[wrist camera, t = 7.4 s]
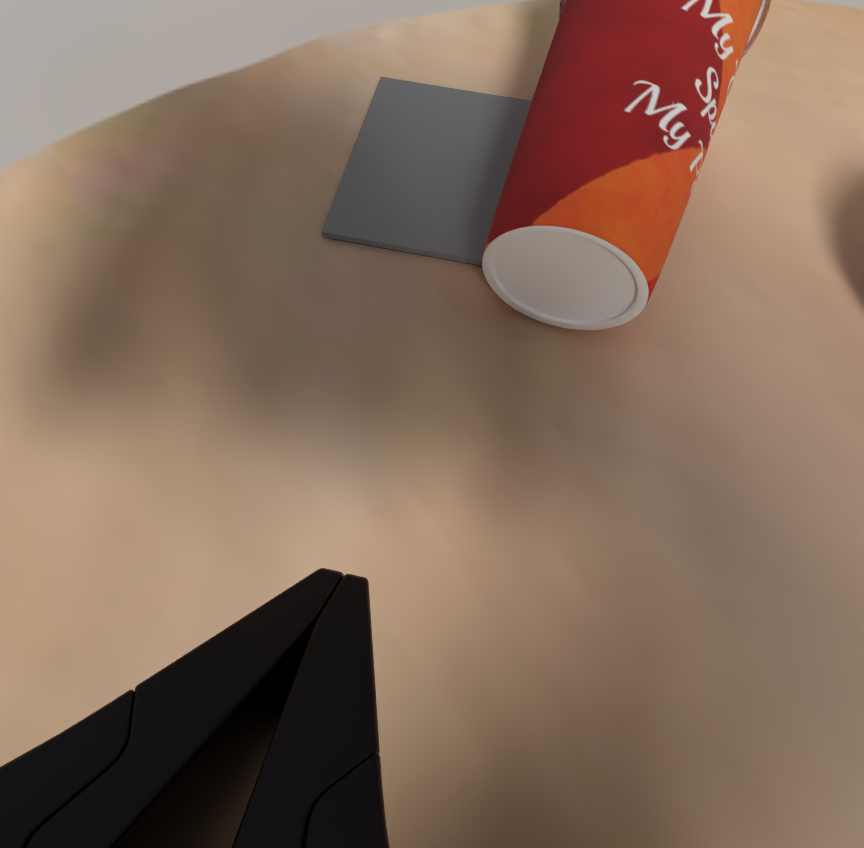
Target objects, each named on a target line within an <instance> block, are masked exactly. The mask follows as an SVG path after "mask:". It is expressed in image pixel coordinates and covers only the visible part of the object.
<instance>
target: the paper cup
mask: <svg viewBox="0 0 864 848" xmlns="http://www.w3.org/2000/svg"><path fill="white" fill-rule="evenodd" d="M770 3H771V0H560V17H559V19H560V20H559V23H558V26H557V29H556V32H555V35H554V38H553V40H552V43H551V46H550V49H549V52H548V55H547V58H546V61H545V64H544V67H543V70H542V73H541V76H540V79H539V82H538V85H537V88H536V91H535V94H534V97H533V100H532V103H531V106H530V109H529V112H528V115H527V118H526V121H525V124H524V127H523V130H522V133H521V136H520V139H519V142H518V145H517V148H516V151H515V154H514V157H513V160H512V163H511V166H510V169H509V172H508V175H507V178H506V181H505V184H504V187H503V190H502V193H501V196H500V199H499V202H498V206H497V209H496V212H495V215H494V218H493V222H492V225H491V228H490V231H489V235H488V238H487V242H486V246H485V249H484V254H483V260H482V267H483V273H484V276H485V278H486V280H487V282H488V284H489V285H490V287H491V288H492V290H493V291H494V292H495V293H496V294H497V295H498V296H499V297H500V298H501V299H502V300H503V301H504V302H506V303H507V304H508V305H510V306H511V307H512V308H514V309H515V310H517V311H519V312H521V313H522V314H524V315H526V316H528V317H530V318H533V319H535V320H538V321H540V322H543V323H546V324H549V325H553V326H557V327H562V328H567V329H575V330H601V329H608V328H612V327H616V326H619V325H622V324H624V323H627V322H629V321H630V320H632V319H634V318H635V317H636V316H637V315H638V314H640V313H641V311H642V310H643V309H644V307H645V305H646V304H647V302H648V300H649V298H650V296H651V293H652V291H653V289H654V287H655V284H656V282H657V280H658V277H659V275H660V272H661V270H662V267H663V265H664V262H665V260H666V257H667V255H668V252H669V250H670V247H671V245H672V242H673V239H674V237H675V234H676V232H677V229H678V226H679V224H680V221H681V219H682V216H683V213H684V211H685V208H686V205H687V203H688V200H689V198H690V195H691V192H692V190H693V187H694V184H695V182H696V179H697V176H698V174H699V171H700V168H701V166H702V163H703V160H704V158H705V155H706V152H707V150H708V147H709V144H710V142H711V139H712V136H713V134H714V131H715V128H716V126H717V123H718V120H719V118H720V115H721V112H722V109H723V107H724V104H725V101H726V99H727V96H728V93H729V91H730V88H731V85H732V83H733V80H734V77H735V75H736V72H737V69H738V66H739V64H740V61H741V58H742V57H743V56H744V55H745V53H746V52H747V51H748V49H749V48H750V47H751V45H752V44H753V42H754V40H755V39H756V37H757V35H758V33H759V32H760V30H761V28H762V26H763V23H764V21H765V18H766V16H767V13H768V11H769V8H770Z"/></svg>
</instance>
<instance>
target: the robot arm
mask: <svg viewBox="0 0 864 848" xmlns="http://www.w3.org/2000/svg"><path fill="white" fill-rule="evenodd" d="M0 848H390V847H389V841H388V835H387V828H386V820H385V810H384V800H383V790H382V777H381V762H380V756H379V735H378V720H377V705H376V690H375V674H374V659H373V644H372V629H371V614H370V598H369V583H368V580H367V578H365V577H360V576H356V575H352V574H346V575H343V573H342V572H339V571H334V570H330V569H326V568H321V569H318V570H317V571H315V572H314V573H312V574H310V575H309V576H307V577H306V578H304V579H303V580H301V581H299V582H298V583H296V584H295V585H293V586H292V587H290V588H289V589H287V590H285V591H284V592H282V593H281V594H279V595H278V596H276V597H274V598H273V599H271V600H270V601H268V602H267V603H265V604H264V605H262V606H260V607H259V608H257V609H256V610H254V611H253V612H251V613H250V614H248V615H246V616H245V617H243V618H242V619H240V620H239V621H237V622H235V623H234V624H232V625H231V626H229V627H228V628H226V629H225V630H223V631H221V632H220V633H218V634H217V635H215V636H214V637H212V638H210V639H209V640H207V641H206V642H204V643H203V644H201V645H200V646H198V647H196V648H195V649H193V650H192V651H190V652H189V653H187V654H185V655H184V656H182V657H181V658H179V659H178V660H176V661H175V662H173V663H171V664H170V665H168V666H167V667H165V668H164V669H162V670H160V671H159V672H157V673H156V674H154V675H153V676H151V677H150V678H148V679H146V680H145V681H143V682H142V683H140V684H139V685H137V686H136V688H135V692H134V691H133V690H129V691H127V692H126V693H124V694H123V695H121V696H119V697H118V698H116V699H115V700H113V701H112V702H110V703H109V704H107V705H105V706H104V707H102V708H101V709H99V710H97V711H96V712H94V713H92V714H91V715H89V716H88V717H86V718H84V719H83V720H81V721H79V722H78V723H76V724H75V725H73V726H71V727H70V728H68V729H66V730H65V731H63V732H61V733H60V734H58V735H56V736H55V737H53V738H51V739H49V740H47V741H46V742H44V743H42V744H40V745H39V746H37V747H35V748H33V749H32V750H30V751H28V752H26V753H24V754H23V755H21V756H19V757H17V758H16V759H14V760H12V761H10V762H8V763H7V764H5V765H3V766H1V767H0Z"/></svg>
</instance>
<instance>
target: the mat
mask: <svg viewBox="0 0 864 848" xmlns="http://www.w3.org/2000/svg"><path fill="white" fill-rule="evenodd" d="M531 103H532V101H527V100H521V99H515V98H509V97H503V96H496V95H490V94H484V93H478V92H472V91H465V90H459V89H453V88H447V87H441V86H434V85H428V84H422V83H416V82H410V81H403V80H397V79H391V78H385V77H381V78H380V81H379V83H378V86H377V88H376V91H375V94H374V96H373V99H372V102H371V104H370V107H369V110H368V112H367V115H366V117H365V120H364V123H363V125H362V128H361V131H360V133H359V136H358V138H357V141H356V144H355V146H354V149H353V152H352V154H351V157H350V160H349V162H348V165H347V167H346V170H345V173H344V175H343V178H342V181H341V183H340V186H339V188H338V191H337V194H336V196H335V199H334V202H333V204H332V207H331V210H330V212H329V215H328V217H327V220H326V223H325V225H324V228H323V231H322V233H323V237H326V238H332V239H337V240H343V241H348V242H354V243H359V244H365V245H370V246H376V247H382V248H387V249H393V250H398V251H404V252H409V253H415V254H420V255H426V256H431V257H437V258H442V259H448V260H453V261H459V262H464V263H470V264H475V265H481V266H482V260H483V254H484V249H485V246H486V242H487V238H488V235H489V231H490V228H491V225H492V222H493V218H494V215H495V212H496V209H497V206H498V202H499V199H500V196H501V193H502V190H503V187H504V184H505V181H506V178H507V175H508V172H509V169H510V166H511V163H512V160H513V157H514V154H515V151H516V148H517V145H518V142H519V139H520V136H521V133H522V130H523V127H524V124H525V121H526V118H527V115H528V112H529V109H530V106H531Z"/></svg>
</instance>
